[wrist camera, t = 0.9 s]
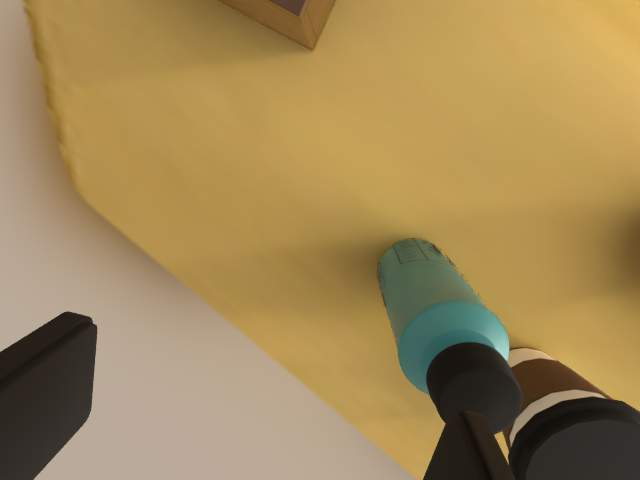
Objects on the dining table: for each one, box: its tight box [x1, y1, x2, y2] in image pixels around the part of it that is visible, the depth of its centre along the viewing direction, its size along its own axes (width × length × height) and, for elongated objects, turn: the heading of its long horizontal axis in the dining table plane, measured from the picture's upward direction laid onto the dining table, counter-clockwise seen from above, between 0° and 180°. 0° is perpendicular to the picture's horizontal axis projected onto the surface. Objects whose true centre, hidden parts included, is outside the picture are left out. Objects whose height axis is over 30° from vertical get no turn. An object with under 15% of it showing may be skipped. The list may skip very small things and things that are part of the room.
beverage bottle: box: [377, 238, 522, 434], centre depth 27 cm, size 6×7×20 cm
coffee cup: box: [503, 348, 640, 480], centre depth 33 cm, size 11×11×12 cm
